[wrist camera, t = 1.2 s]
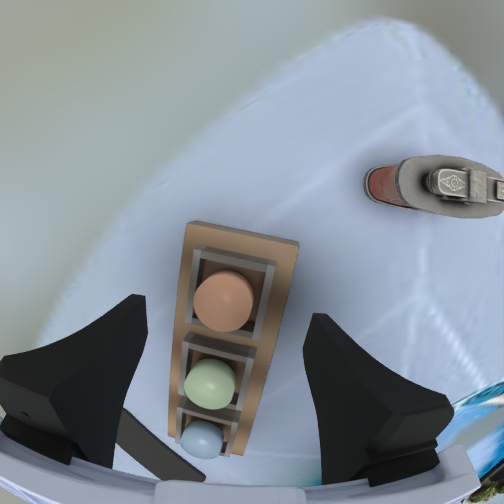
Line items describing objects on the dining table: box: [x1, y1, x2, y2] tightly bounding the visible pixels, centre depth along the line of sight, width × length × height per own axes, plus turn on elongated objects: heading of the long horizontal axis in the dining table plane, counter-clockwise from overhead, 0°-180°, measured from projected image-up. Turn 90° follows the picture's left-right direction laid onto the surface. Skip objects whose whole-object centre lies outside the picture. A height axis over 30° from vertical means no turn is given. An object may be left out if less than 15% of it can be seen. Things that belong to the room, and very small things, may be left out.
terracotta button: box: [193, 270, 254, 332], centre depth 19 cm, size 4×4×2 cm
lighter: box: [363, 155, 504, 218], centre depth 15 cm, size 8×3×10 cm, turn 90°
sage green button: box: [184, 359, 237, 409], centre depth 20 cm, size 4×4×2 cm
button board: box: [168, 221, 299, 457], centre depth 23 cm, size 22×8×4 cm, turn 169°
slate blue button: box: [180, 420, 224, 459], centre depth 22 cm, size 4×4×2 cm
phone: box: [116, 408, 206, 482], centre depth 29 cm, size 7×1×15 cm
